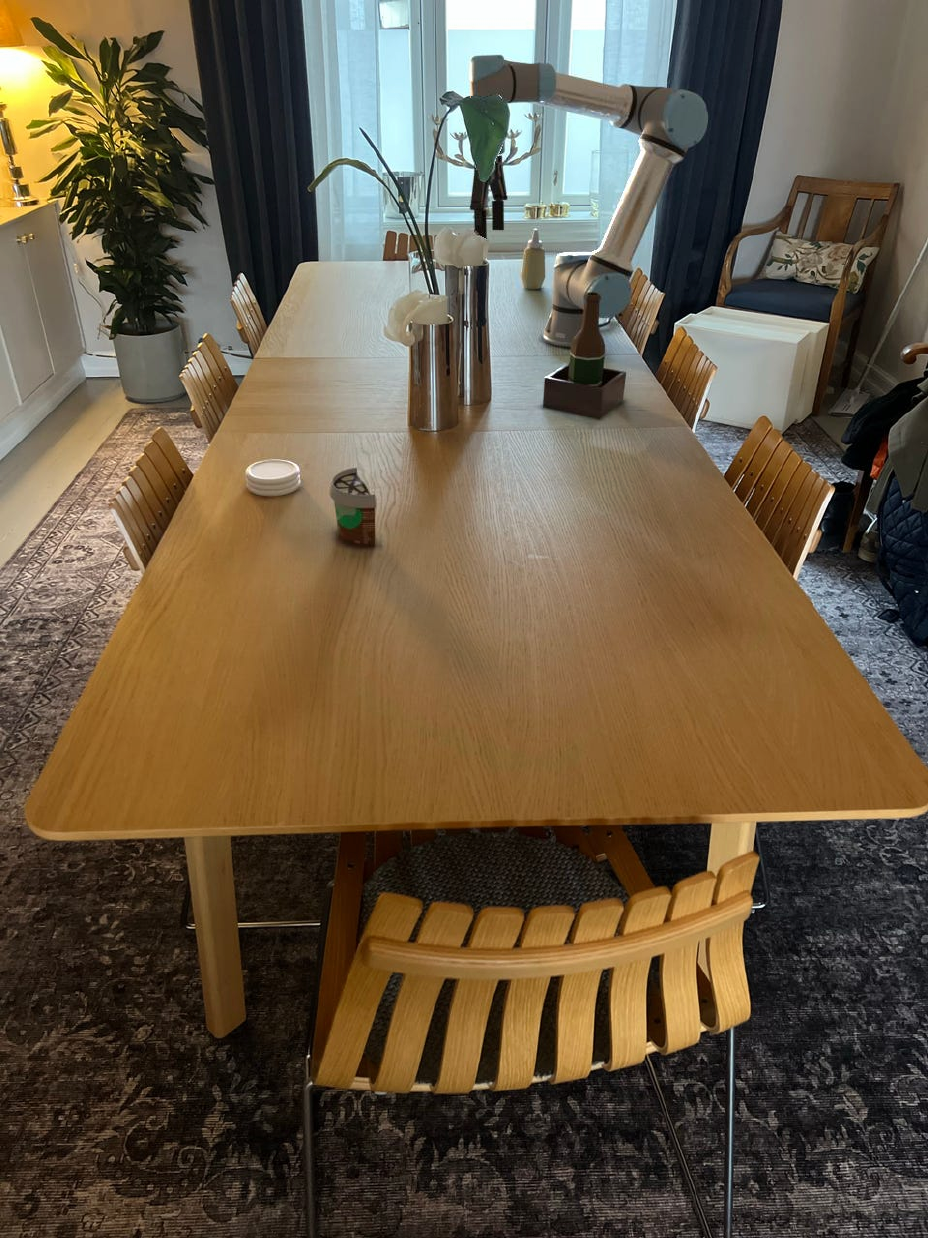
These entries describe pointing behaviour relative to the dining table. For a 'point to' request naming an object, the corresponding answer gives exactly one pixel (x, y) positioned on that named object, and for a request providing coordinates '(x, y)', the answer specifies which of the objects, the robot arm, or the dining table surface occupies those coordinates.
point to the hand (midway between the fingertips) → (489, 235)
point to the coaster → (272, 478)
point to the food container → (353, 509)
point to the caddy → (583, 393)
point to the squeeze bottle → (533, 263)
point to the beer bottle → (588, 346)
